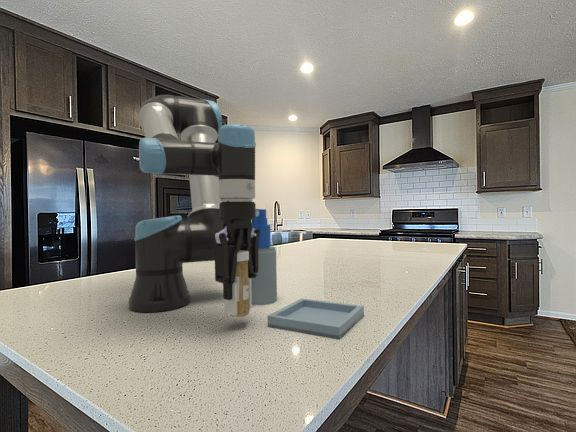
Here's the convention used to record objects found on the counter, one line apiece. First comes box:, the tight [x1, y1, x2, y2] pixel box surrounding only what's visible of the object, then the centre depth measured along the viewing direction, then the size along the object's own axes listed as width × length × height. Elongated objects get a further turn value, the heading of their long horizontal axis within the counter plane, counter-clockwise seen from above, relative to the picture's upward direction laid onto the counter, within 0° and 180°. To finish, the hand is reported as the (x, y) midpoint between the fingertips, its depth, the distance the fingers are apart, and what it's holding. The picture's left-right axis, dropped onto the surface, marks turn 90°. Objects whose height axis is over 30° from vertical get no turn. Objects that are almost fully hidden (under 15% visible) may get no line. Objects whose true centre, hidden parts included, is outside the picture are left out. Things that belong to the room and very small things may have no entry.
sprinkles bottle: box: [229, 250, 250, 318], centre depth 71 cm, size 5×5×13 cm
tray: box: [266, 297, 365, 340], centre depth 74 cm, size 16×16×2 cm
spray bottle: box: [251, 208, 278, 306], centre depth 92 cm, size 9×9×25 cm
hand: (238, 310), depth 72 cm, fingers closed on sprinkles bottle, 4 cm apart
